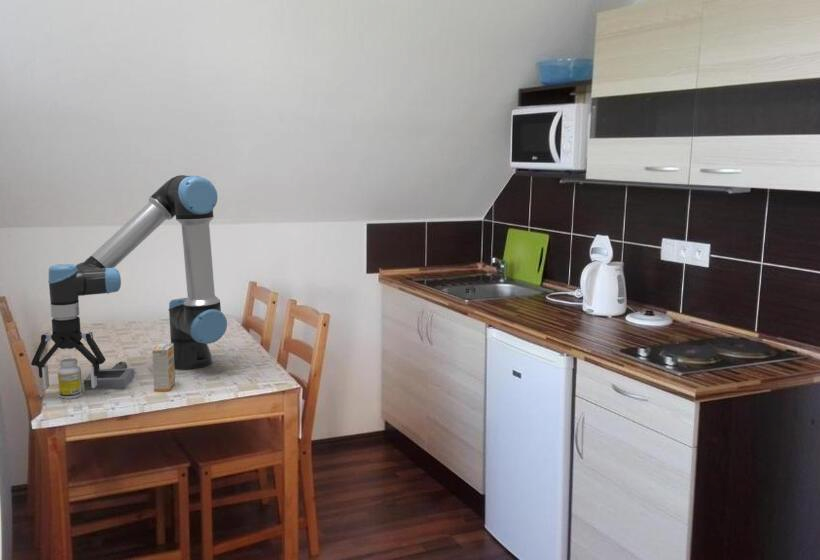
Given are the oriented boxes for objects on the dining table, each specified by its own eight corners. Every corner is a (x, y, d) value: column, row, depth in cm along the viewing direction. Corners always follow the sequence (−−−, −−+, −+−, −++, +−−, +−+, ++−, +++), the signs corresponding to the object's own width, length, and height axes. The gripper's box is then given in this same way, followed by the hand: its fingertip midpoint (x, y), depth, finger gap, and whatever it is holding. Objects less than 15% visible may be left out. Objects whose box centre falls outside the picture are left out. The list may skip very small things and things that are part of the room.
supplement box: (169, 391, 228) (167, 349, 225) (153, 391, 227) (151, 349, 225) (176, 383, 236) (174, 342, 234) (160, 383, 235) (158, 343, 233)
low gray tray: (125, 389, 230) (124, 379, 229) (84, 391, 228) (83, 380, 228) (141, 370, 251) (140, 360, 251) (103, 371, 250) (103, 361, 249)
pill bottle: (66, 392, 226) (64, 357, 224) (86, 393, 225) (84, 357, 223) (55, 399, 220) (52, 362, 218) (75, 399, 219) (73, 363, 217)
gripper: (113, 313, 224) (117, 382, 227) (25, 315, 221) (30, 384, 224) (106, 319, 216) (110, 389, 220) (15, 320, 213) (21, 392, 217)
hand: (70, 387), depth 222 cm, fingers open, 13 cm apart
